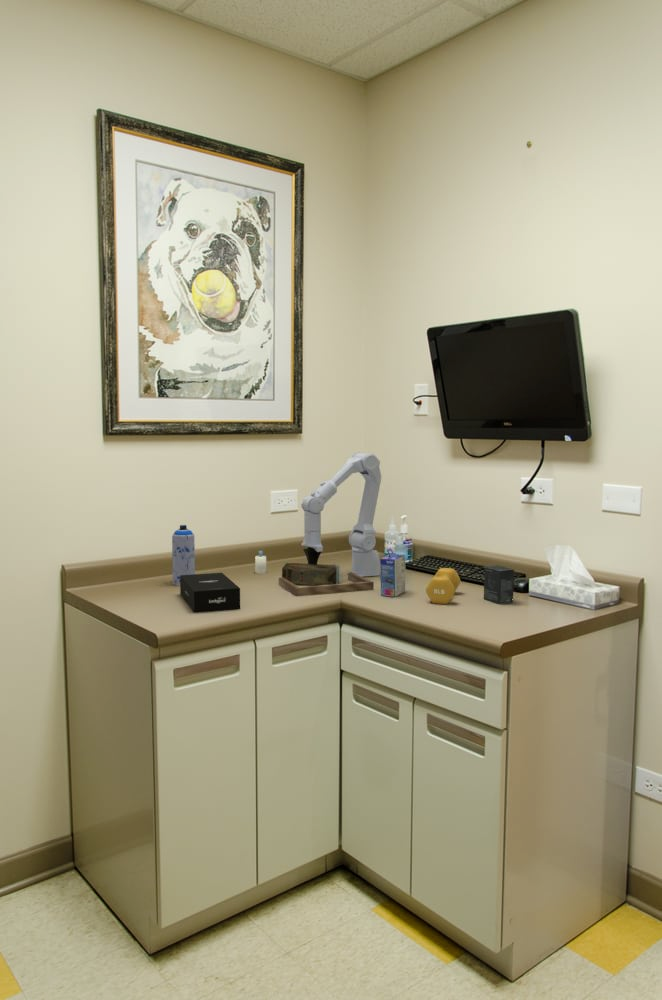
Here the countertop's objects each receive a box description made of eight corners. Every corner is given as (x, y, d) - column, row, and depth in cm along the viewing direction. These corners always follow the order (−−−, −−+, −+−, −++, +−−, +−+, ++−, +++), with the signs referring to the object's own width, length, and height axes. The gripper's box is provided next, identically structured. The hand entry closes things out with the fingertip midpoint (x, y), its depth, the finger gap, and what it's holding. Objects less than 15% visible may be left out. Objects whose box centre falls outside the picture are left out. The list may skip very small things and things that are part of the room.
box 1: (180, 595, 244) (180, 575, 243) (222, 592, 248) (222, 572, 248) (194, 614, 220) (194, 591, 220) (240, 610, 225) (240, 588, 224)
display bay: (351, 579, 269) (351, 572, 268) (373, 589, 252) (373, 582, 252) (278, 584, 259) (278, 577, 258) (296, 596, 242) (296, 588, 242)
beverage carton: (337, 586, 257) (337, 567, 256) (281, 585, 259) (280, 565, 258) (339, 581, 264) (339, 563, 264) (285, 580, 267) (285, 561, 266)
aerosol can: (193, 580, 265) (193, 523, 263) (197, 584, 258) (196, 526, 256) (170, 581, 263) (170, 524, 261) (173, 586, 255) (172, 527, 253)
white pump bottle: (264, 571, 282) (264, 549, 282) (267, 573, 279) (267, 551, 278) (254, 571, 281) (253, 550, 280) (257, 573, 277) (257, 552, 276)
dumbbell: (433, 591, 251) (434, 566, 250) (461, 592, 249) (461, 568, 248) (424, 604, 233) (424, 577, 232) (453, 606, 231) (454, 579, 230)
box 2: (513, 602, 235) (514, 568, 234) (498, 604, 232) (499, 570, 231) (497, 597, 242) (498, 564, 241) (483, 599, 239) (483, 566, 238)
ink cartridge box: (390, 589, 252) (390, 546, 251) (406, 591, 250) (406, 547, 248) (379, 595, 243) (379, 550, 242) (395, 597, 241) (396, 552, 240)
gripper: (294, 528, 270) (295, 566, 272) (308, 534, 257) (309, 573, 258) (313, 527, 273) (313, 564, 274) (328, 532, 260) (328, 572, 261)
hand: (312, 569), depth 267 cm, fingers closed
